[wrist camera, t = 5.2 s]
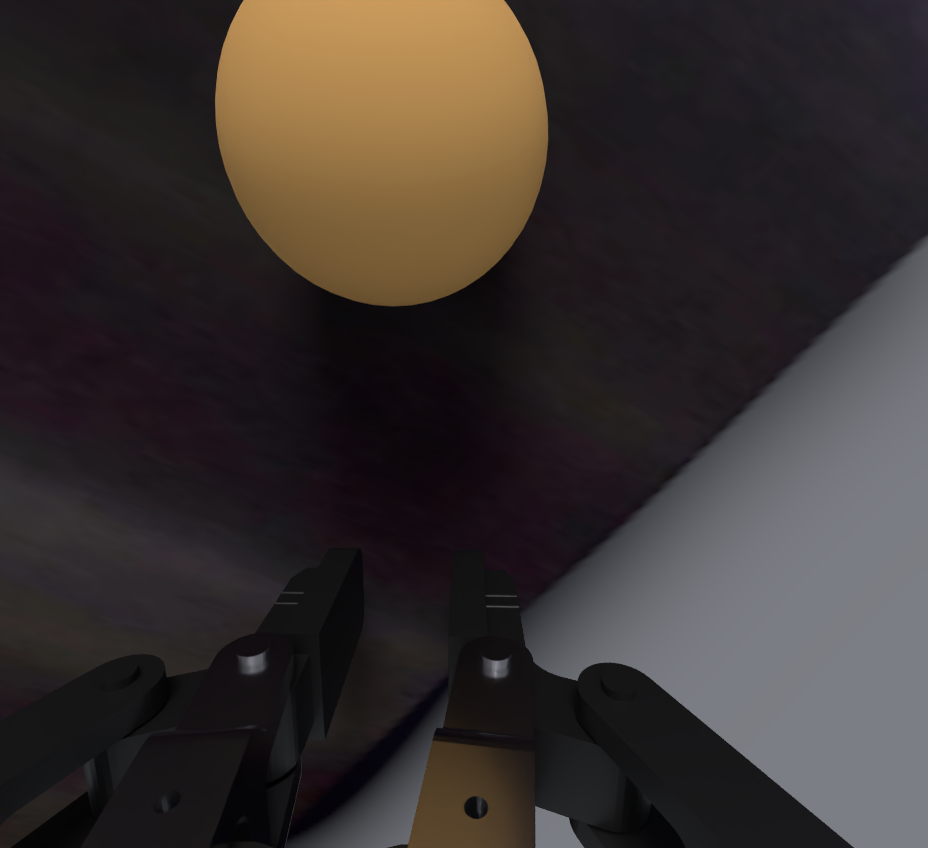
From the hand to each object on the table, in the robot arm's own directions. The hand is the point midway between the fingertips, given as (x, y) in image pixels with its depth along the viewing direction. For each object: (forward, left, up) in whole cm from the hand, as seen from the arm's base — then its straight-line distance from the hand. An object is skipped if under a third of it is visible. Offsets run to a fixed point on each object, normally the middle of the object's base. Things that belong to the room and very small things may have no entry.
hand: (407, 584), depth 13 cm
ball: (0, +10, +2) cm, 10 cm away
